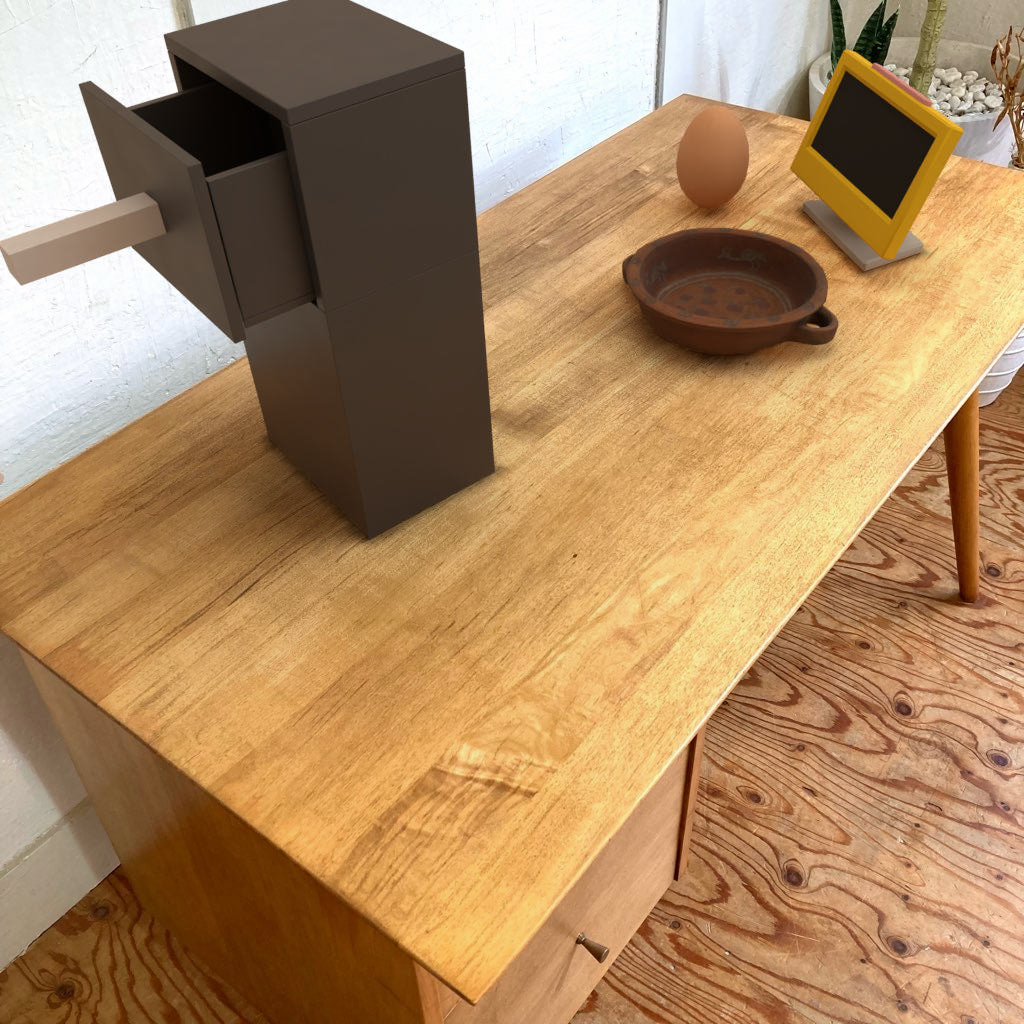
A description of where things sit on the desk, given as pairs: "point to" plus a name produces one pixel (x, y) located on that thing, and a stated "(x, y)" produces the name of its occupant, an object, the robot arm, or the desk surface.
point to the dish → (730, 291)
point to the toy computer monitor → (872, 161)
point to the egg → (713, 158)
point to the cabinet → (366, 252)
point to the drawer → (188, 205)
